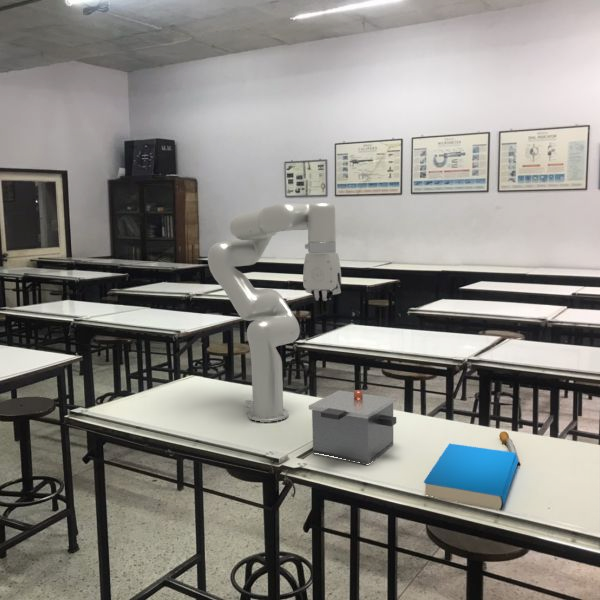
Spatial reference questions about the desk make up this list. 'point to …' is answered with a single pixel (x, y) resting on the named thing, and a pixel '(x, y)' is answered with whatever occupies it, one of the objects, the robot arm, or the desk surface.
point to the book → (472, 475)
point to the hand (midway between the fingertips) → (323, 314)
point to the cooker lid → (350, 405)
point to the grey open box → (354, 435)
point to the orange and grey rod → (508, 443)
